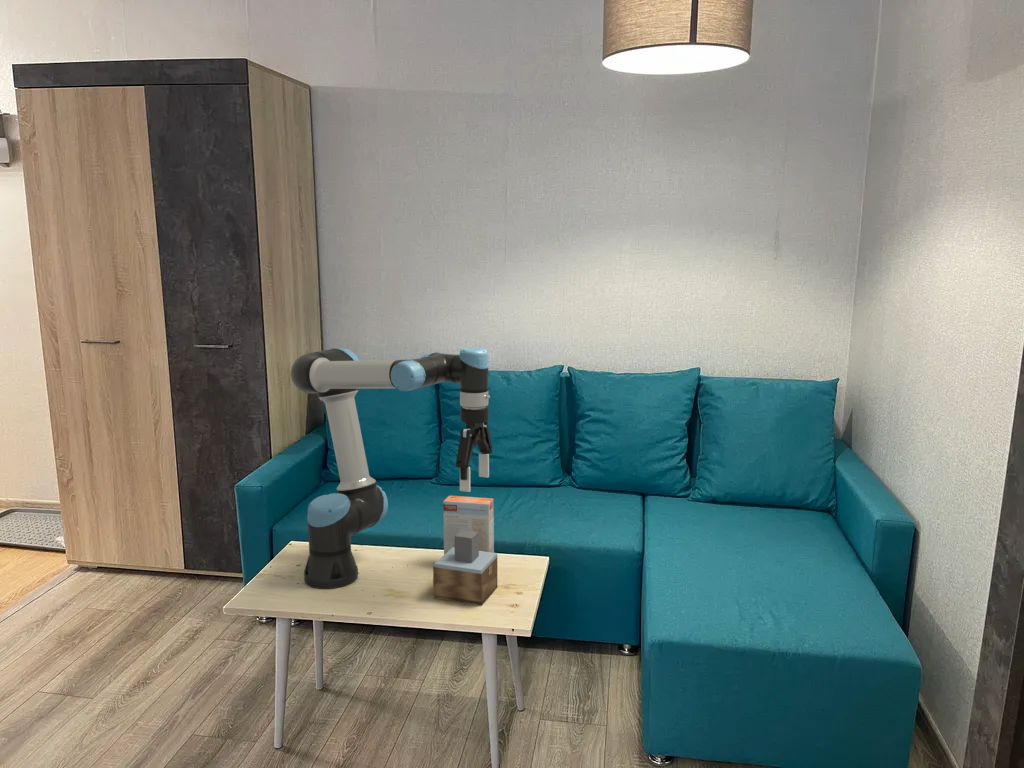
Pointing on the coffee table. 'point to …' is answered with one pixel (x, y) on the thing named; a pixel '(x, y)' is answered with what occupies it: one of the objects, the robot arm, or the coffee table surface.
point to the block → (466, 546)
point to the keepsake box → (465, 584)
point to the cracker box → (469, 520)
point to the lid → (475, 567)
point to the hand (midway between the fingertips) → (474, 483)
